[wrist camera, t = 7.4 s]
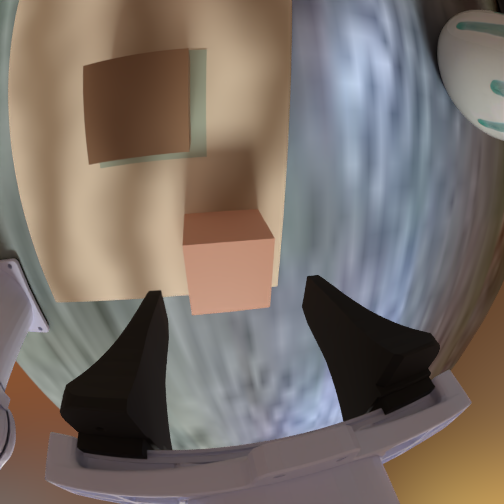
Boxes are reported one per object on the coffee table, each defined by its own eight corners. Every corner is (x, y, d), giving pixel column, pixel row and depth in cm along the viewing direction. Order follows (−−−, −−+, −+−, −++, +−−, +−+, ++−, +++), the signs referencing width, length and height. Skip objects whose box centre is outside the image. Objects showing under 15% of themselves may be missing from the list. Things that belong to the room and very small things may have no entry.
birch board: (60, 294, 18) (56, 303, 17) (26, 1, 6) (19, -2, 5) (273, 278, 22) (277, 287, 21) (286, -37, 9) (291, -44, 8)
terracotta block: (191, 275, 19) (192, 315, 15) (184, 214, 16) (182, 245, 13) (255, 269, 20) (269, 306, 16) (258, 209, 17) (274, 238, 14)
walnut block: (112, 149, 13) (88, 164, 10) (109, 73, 11) (83, 65, 8) (191, 140, 14) (189, 151, 11) (190, 62, 12) (188, 48, 8)
